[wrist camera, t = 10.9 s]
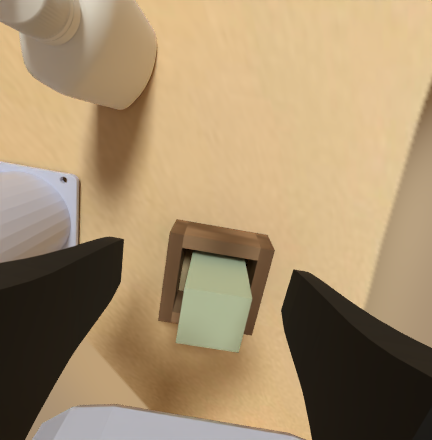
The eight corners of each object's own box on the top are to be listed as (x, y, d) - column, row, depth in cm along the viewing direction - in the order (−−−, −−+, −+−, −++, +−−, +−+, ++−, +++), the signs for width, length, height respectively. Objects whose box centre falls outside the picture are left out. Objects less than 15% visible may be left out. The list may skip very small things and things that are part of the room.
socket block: (165, 298, 23) (158, 320, 21) (176, 219, 21) (169, 232, 18) (248, 311, 24) (251, 335, 21) (267, 235, 21) (274, 250, 19)
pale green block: (188, 283, 23) (175, 342, 16) (195, 241, 22) (184, 287, 15) (233, 290, 23) (238, 352, 17) (242, 249, 22) (252, 298, 15)
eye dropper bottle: (75, 59, 18) (-183, -77, 6) (142, 8, 17) (-21, -256, 5) (114, 118, 19) (-47, 92, 8) (179, 74, 18) (107, -34, 7)
